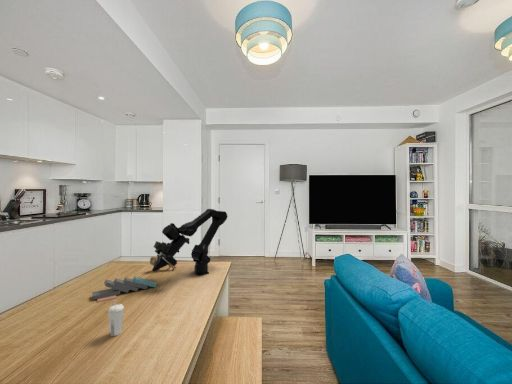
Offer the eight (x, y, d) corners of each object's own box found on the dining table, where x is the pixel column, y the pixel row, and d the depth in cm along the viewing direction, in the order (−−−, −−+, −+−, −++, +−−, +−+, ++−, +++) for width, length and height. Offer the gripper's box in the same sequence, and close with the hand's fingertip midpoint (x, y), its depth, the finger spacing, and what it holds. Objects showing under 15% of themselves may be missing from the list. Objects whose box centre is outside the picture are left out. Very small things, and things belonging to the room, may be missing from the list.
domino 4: (145, 282, 121) (125, 277, 116) (148, 286, 117) (127, 280, 112) (143, 286, 121) (123, 280, 115) (146, 289, 117) (125, 283, 111)
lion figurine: (150, 274, 138) (150, 257, 138) (149, 271, 143) (149, 255, 143) (177, 270, 145) (177, 254, 145) (175, 267, 150) (176, 252, 150)
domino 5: (154, 281, 124) (134, 276, 118) (157, 284, 120) (136, 279, 114) (152, 284, 123) (132, 279, 118) (155, 287, 119) (135, 282, 114)
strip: (113, 290, 115) (113, 289, 115) (116, 298, 107) (116, 297, 107) (95, 294, 111) (95, 293, 111) (97, 302, 103) (97, 301, 103)
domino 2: (127, 285, 116) (106, 279, 111) (129, 289, 112) (107, 282, 107) (125, 289, 116) (104, 282, 111) (127, 292, 112) (105, 286, 107)
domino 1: (118, 286, 114) (92, 292, 108) (120, 290, 110) (93, 296, 104) (118, 290, 114) (92, 295, 108) (120, 294, 110) (93, 299, 104)
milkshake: (119, 327, 85) (119, 297, 85) (126, 332, 82) (126, 302, 81) (104, 332, 81) (104, 302, 81) (111, 339, 78) (111, 307, 78)
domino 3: (136, 284, 119) (115, 278, 114) (138, 288, 115) (117, 281, 110) (134, 288, 118) (113, 281, 113) (136, 291, 114) (115, 285, 109)
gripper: (158, 232, 131) (135, 256, 125) (170, 238, 117) (145, 266, 110) (173, 245, 136) (152, 269, 130) (186, 252, 121) (163, 280, 115)
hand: (152, 270), depth 121 cm, fingers closed
